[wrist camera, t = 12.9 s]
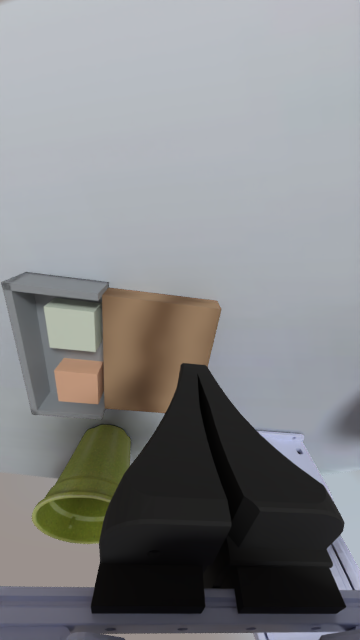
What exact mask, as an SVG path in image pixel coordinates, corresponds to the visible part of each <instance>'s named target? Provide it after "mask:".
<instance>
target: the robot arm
mask: <svg viewBox="0 0 360 640" xmlns="http://www.w3.org/2000/svg"><path fill="white" fill-rule="evenodd" d="M303 440H304V436H303V434H296V433H282V432H269V431H256V430H255V429H254V428H253V427H252V426H251V425H250V424H249V422H248V421H247V420H246V419H245V418H244V417H243V416H242V415H241V414H240V413H239V411H238V410H237V409H236V408H235V406H234V405H233V404H232V403H231V401H230V400H229V399H228V397H227V396H226V395H225V393H224V392H223V390H222V389H221V388H220V386H219V385H218V383H217V382H216V380H215V379H214V377H213V375H212V374H211V372H210V371H209V369H208V367H207V366H206V365H200V364H189V363H182V364H181V366H180V372H179V378H178V383H177V388H176V391H175V393H174V396H173V398H172V400H171V403H170V405H169V407H168V409H167V411H166V413H165V415H164V417H163V419H162V420H161V422H160V424H159V426H158V427H157V429H156V431H155V432H154V434H153V435H152V437H151V438H150V440H149V441H148V443H147V444H146V446H145V447H144V448H143V450H142V451H141V453H140V454H139V455H138V457H137V458H136V459H135V460H134V462H133V463H132V464H131V465H130V467H129V468H128V469H127V471H126V472H125V473H124V475H123V477H122V479H121V481H120V483H119V485H118V487H117V489H116V491H115V493H114V495H113V497H112V499H111V501H110V503H109V506H108V508H107V511H106V514H105V517H104V521H103V526H102V530H101V535H100V540H99V549H100V565H99V569H98V574H97V579H96V583H95V587H11V586H9V587H8V586H0V640H125V639H124V638H121V637H114V636H109V635H103V634H119V633H120V634H123V633H124V634H126V633H128V634H129V633H253V634H254V637H255V639H256V640H360V570H359V568H358V566H357V564H356V562H355V561H354V558H353V556H352V554H351V553H350V551H349V549H348V547H347V545H346V544H345V542H344V540H343V539H342V537H341V536H340V534H341V533H342V532H343V528H344V521H343V519H342V517H341V515H340V513H339V511H338V509H337V507H336V505H335V504H334V501H333V498H332V495H331V493H330V490H329V489H328V486H327V485H326V483H325V481H324V479H323V477H322V476H321V474H320V472H319V470H318V469H317V467H316V465H315V463H314V461H313V460H312V458H311V456H310V454H309V452H308V451H307V449H306V447H305V445H304V444H303Z"/></svg>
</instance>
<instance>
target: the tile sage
mask: <svg viewBox="0 0 360 640" xmlns="http://www.w3.org/2000/svg"><path fill="white" fill-rule="evenodd" d="M44 313H45V319H46V326H47V332H48V339H49V345H50V348H59V349H69V350H79V351H90V352H96V351H97V349H98V347H99V345H100V343H101V342H102V312H101V303H96V302H87V301H78V300H70V299H61V298H55V299H53V300H52V301H51V302H49V303H48V304H46V305H45V306H44Z"/></svg>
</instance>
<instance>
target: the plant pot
mask: <svg viewBox="0 0 360 640" xmlns="http://www.w3.org/2000/svg"><path fill="white" fill-rule="evenodd" d="M130 444H131V441H130V437H128V436H127V435H126V433H125V432H124V430H123V429H121V428H119V427H116V426H112V425H99V426H97V427H95V428H93V429H89V430H87V431H86V433H85V434H84V436H83V438H82V439H81V441H80V443H79V445H78V446H77V448H76V450H75V452H74V453H73V455H72V457H71V459H70V460H69V462H68V464H67V465H66V467H65V469H64V470H63V472H62V474H61V476H60V477H59V479H58V481H57V482H56V484H55V486H53V487H52V488H51V489H50V491H49V492H48V494H47V495H46V497H45V499H43V500H41V501H40V502H39V503H38V504H37V505H36V507H35V508H34V511H33V513H32V521H33V523H34V525H35V526H36V527H37V528H38V529H39V530H40V531H41V532H43V533H44V534H46V535H48V536H50V537H53V538H55V539H58V540H62V541H66V542H71V543H80V544H81V543H83V544H93V543H99V540H100V535H101V530H102V526H103V521H104V517H105V514H106V511H107V508H108V506H109V503H110V501H111V499H112V497H113V495H114V493H115V491H116V489H117V487H118V485H119V483H120V481H121V479H122V477H123V475H124V473H125V472H126V471H127V469H128V468H129V466H130Z"/></svg>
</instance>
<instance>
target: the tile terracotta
mask: <svg viewBox="0 0 360 640" xmlns="http://www.w3.org/2000/svg"><path fill="white" fill-rule="evenodd" d="M54 374H55V380H56V387H57V394H58V400H59V401H62V402H75V403H87V404H99V402H100V399H101V397H102V394H103V392H104V367H103V361H92V360H81V359H71V358H63V359H62V361H61V362H60V363H59V365H58V366H57V367H56V369H55V370H54Z"/></svg>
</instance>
